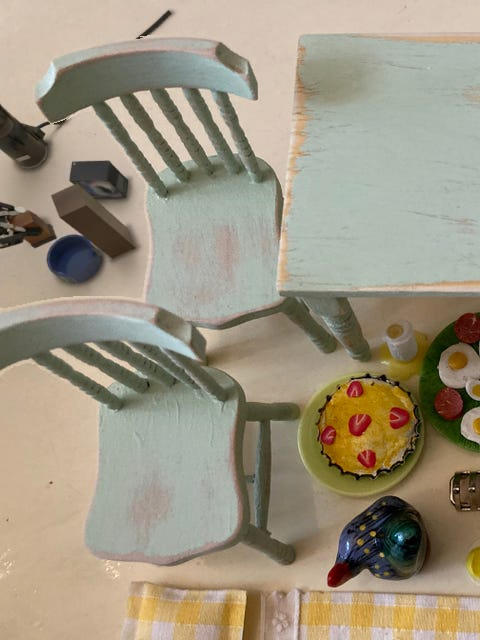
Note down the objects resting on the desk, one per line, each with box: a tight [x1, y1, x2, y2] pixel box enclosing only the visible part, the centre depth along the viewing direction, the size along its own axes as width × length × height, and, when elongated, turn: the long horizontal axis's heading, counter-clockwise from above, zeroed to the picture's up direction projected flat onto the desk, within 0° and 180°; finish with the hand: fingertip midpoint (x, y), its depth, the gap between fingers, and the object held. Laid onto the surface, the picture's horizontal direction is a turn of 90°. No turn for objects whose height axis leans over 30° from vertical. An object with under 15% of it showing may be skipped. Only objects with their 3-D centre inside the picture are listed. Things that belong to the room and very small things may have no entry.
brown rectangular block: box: [50, 183, 137, 259], centre depth 180 cm, size 7×7×24 cm
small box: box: [68, 160, 129, 200], centre depth 192 cm, size 11×6×10 cm, turn 91°
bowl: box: [46, 233, 103, 284], centre depth 188 cm, size 13×13×4 cm
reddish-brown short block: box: [8, 209, 58, 249], centre depth 171 cm, size 4×6×9 cm, turn 118°
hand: (38, 224), depth 171 cm, fingers closed on reddish-brown short block, 3 cm apart
